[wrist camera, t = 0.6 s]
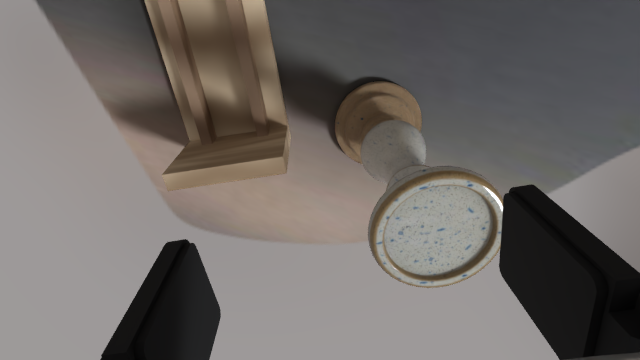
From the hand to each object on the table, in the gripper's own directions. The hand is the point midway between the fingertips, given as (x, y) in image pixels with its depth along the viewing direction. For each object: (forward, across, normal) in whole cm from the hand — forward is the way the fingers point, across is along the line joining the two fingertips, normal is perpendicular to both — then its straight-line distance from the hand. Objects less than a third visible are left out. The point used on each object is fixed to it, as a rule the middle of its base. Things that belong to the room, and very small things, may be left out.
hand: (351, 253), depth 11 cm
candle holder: (+28, -5, +6) cm, 29 cm away
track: (+28, +9, -6) cm, 30 cm away
